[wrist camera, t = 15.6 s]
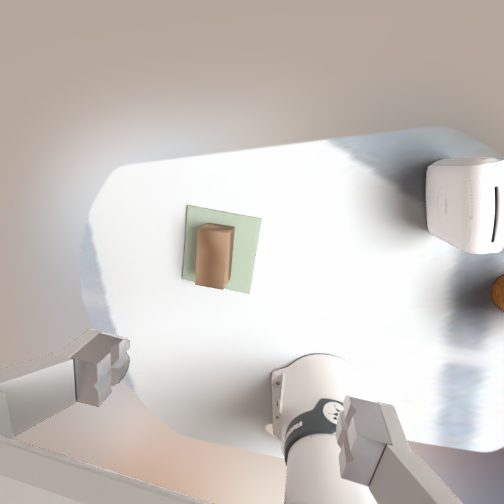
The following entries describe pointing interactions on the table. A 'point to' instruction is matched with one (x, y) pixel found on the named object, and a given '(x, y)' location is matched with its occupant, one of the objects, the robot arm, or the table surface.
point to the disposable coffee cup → (498, 292)
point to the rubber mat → (242, 247)
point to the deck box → (214, 255)
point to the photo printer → (467, 203)
